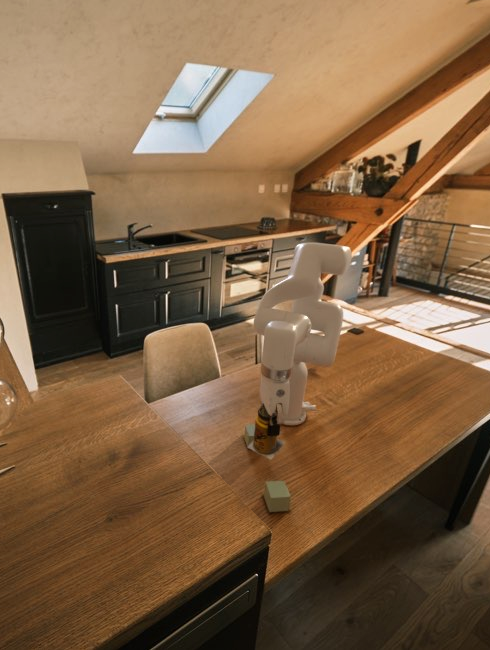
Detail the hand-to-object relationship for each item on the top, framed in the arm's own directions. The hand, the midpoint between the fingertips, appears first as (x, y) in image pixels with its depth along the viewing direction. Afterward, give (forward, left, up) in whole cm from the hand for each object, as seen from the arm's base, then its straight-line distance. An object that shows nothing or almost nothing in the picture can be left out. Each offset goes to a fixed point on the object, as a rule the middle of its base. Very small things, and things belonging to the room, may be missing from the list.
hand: (269, 426), depth 103 cm
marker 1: (0, -11, -16) cm, 19 cm away
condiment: (0, -1, -7) cm, 7 cm away
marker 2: (0, +11, -16) cm, 19 cm away
